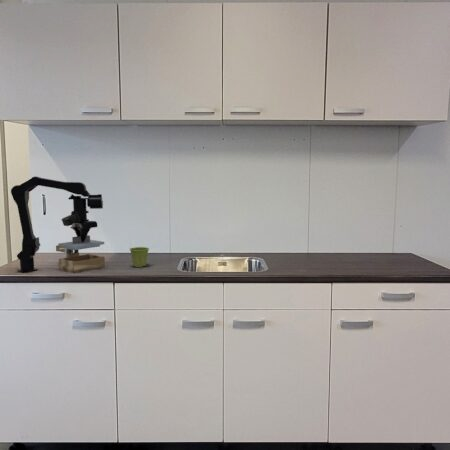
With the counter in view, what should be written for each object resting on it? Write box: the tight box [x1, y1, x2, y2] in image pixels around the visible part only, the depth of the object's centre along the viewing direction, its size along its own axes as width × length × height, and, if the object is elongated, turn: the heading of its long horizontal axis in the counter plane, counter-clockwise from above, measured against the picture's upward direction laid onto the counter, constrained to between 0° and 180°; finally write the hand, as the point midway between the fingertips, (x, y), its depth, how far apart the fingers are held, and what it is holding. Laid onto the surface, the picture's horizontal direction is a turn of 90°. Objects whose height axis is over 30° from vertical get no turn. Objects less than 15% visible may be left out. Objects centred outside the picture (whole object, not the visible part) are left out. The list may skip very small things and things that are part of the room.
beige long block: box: [55, 244, 74, 254], centre depth 184 cm, size 11×3×3 cm, turn 53°
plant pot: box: [129, 246, 150, 268], centre depth 180 cm, size 9×9×9 cm
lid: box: [57, 234, 105, 251], centre depth 175 cm, size 13×16×5 cm
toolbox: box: [58, 249, 106, 274], centre depth 176 cm, size 16×16×9 cm
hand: (81, 241), depth 175 cm, fingers closed on lid
